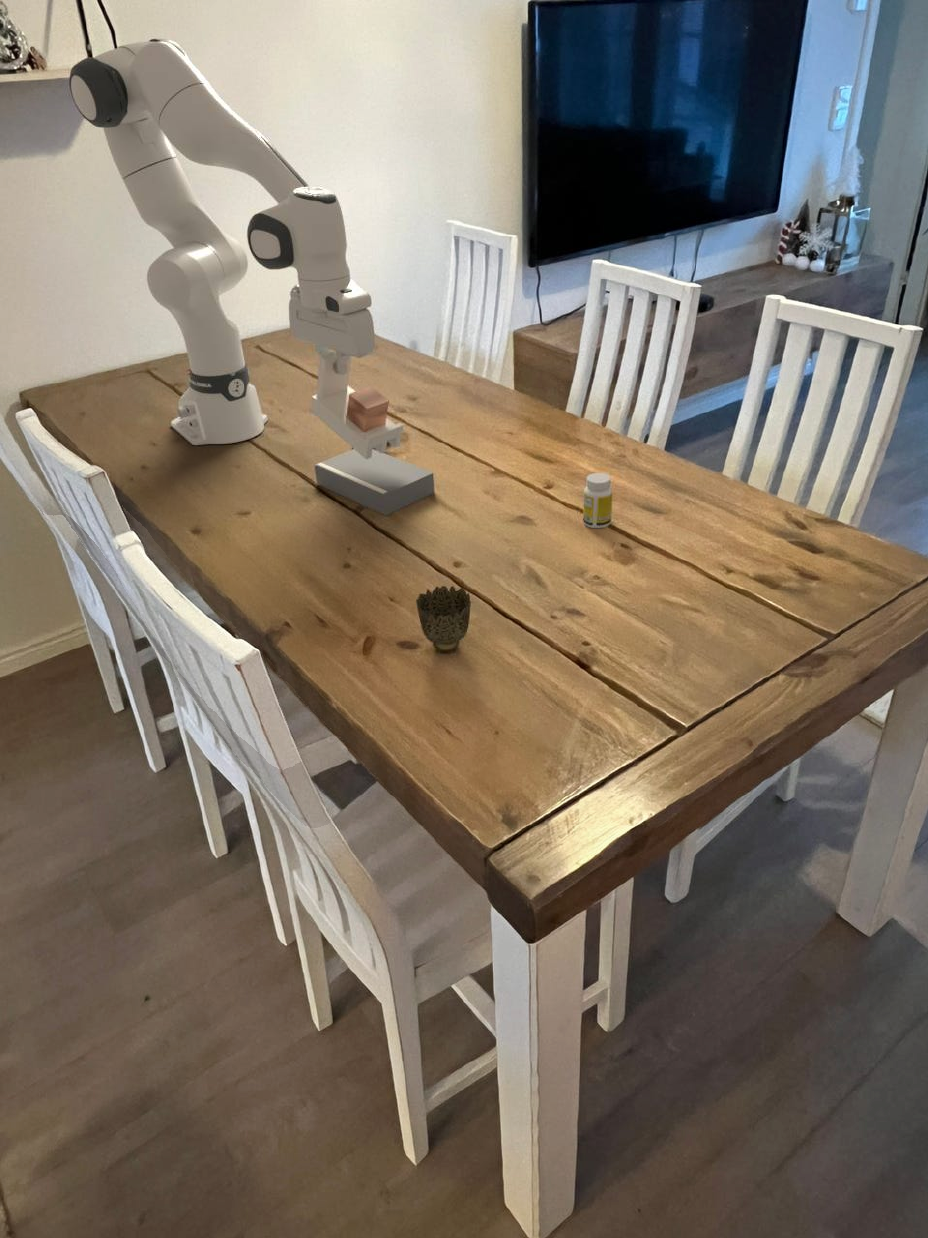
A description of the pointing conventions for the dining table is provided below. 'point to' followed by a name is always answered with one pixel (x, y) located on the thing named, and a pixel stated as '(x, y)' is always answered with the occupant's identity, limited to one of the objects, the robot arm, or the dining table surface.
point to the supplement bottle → (597, 501)
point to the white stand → (334, 410)
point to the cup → (444, 616)
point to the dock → (375, 480)
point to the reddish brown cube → (367, 409)
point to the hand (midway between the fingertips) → (335, 371)
